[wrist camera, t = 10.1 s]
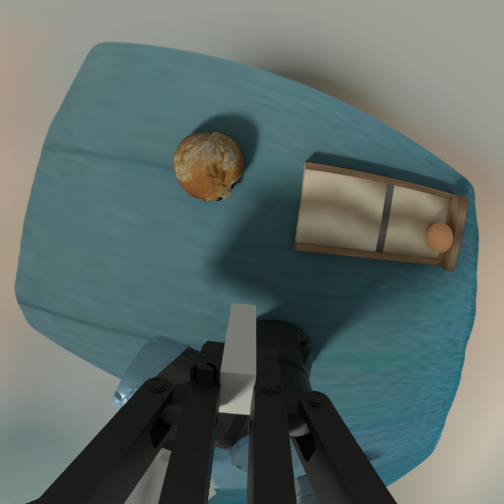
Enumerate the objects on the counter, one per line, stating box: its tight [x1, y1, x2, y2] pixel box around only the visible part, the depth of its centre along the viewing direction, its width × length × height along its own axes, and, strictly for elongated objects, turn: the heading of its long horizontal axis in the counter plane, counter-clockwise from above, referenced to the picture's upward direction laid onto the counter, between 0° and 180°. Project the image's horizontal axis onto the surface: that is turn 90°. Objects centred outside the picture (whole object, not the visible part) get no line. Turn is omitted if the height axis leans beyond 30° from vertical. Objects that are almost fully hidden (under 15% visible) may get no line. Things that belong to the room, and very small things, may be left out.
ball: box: [426, 223, 453, 253], centre depth 39 cm, size 5×5×5 cm
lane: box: [294, 162, 469, 271], centre depth 40 cm, size 13×29×4 cm, turn 84°
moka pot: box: [294, 475, 320, 504], centre depth 55 cm, size 10×15×20 cm, turn 90°
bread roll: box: [173, 132, 244, 202], centre depth 38 cm, size 10×10×8 cm
